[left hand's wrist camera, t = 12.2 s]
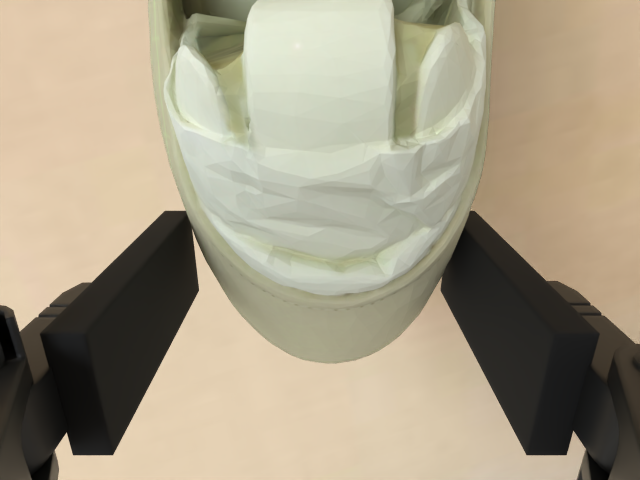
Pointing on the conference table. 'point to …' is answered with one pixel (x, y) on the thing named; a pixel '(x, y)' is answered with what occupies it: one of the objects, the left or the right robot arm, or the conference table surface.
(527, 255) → the conference table surface
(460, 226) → the ballet flat
